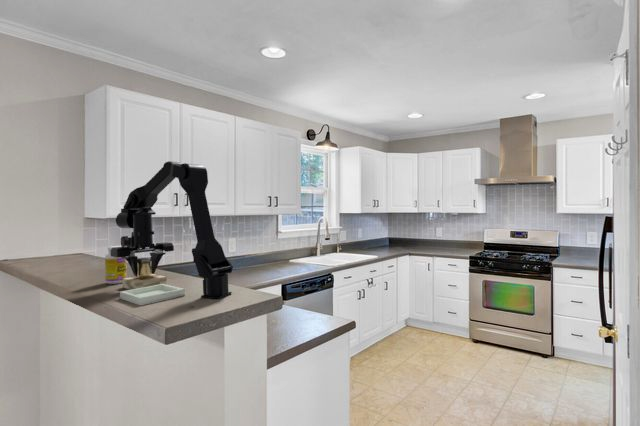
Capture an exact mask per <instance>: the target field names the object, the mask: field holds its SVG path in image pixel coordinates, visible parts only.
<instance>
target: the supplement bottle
mask: <svg viewBox="0 0 640 426" xmlns="http://www.w3.org/2000/svg"><path fill="white" fill-rule="evenodd" d="M113 247H122V246H121V245H112V246H108V247H107V251H108V253H107V254H106V255H105V257H104V262H105V263H104V264H105V265H104V267H105V283H106V284H108V285H109V284H110V285H116V284H123V278H128V271H127V270H128V269H127V260H126V259H125V258H121V257H112V256H111V249H112V248H113Z"/></svg>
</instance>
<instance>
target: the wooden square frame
mask: <svg viewBox="0 0 640 426" xmlns="http://www.w3.org/2000/svg"><path fill="white" fill-rule="evenodd" d="M159 284H166V285H168V281H167V276H164V275H160V274H155V273H154V274H152V273H151V278H149V279H143V280H138V275H137V277H135V276H129V277H127V278H123V283H122V288H124V289H127V290H132V289H137V288H143V287H148V286H154V285H159Z"/></svg>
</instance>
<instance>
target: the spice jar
mask: <svg viewBox="0 0 640 426" xmlns="http://www.w3.org/2000/svg"><path fill="white" fill-rule="evenodd" d="M151 261H152V258H151V256H149V257H148V256H147V257H145V256H143V257H138V274H137V276H138V280H143V279H149V278H151V274H152V272H151Z"/></svg>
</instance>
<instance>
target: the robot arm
mask: <svg viewBox="0 0 640 426" xmlns="http://www.w3.org/2000/svg"><path fill="white" fill-rule="evenodd" d="M176 178H177V179H178V181H179V186H180V187H181V189H183V190H184V192H185V193H186V195H187V197H188V201H189V206H190V211H191V216H192V222H193V226H194V230H195V235H196V240H197V241H196V242H197V243H196V245H195V247H194V248H192V249H191V254H192V257H193V259H192V261H193V263H194V265H195V266H196V270H197V274H198V277H199V278H203V279H202V292H203V293H202V294H201V295H200V298H206V299H215V300H216V299H218V300H219V299H222V298H224V297H227V296H229V295H232V291H229V274H232V271H233V267H234V266H233V264H232V263H231V262H230V260H228V258H227V257H226V255H225V252H224V249H223V247H222V245H221V243H220V242H219V241H218V240H217V239H216V238H215V233H214V230H213V225H212V220H211V219H212V217H211V214H210V210H209V204H208V200H207V196H206V190H207V188H208V184H209V178H208V171H207V168H206V166H204V165H202V164H193V163H187V162H185V163H181V162H177V161H172V160H171V161H166V162H164V163H163V166H162V167H161V168H160V169H159V170H158V171H157V172H156V173H155V174H154V176H153V177H151V179H149V181H148V182H146V184H144V185H142V186H139V187H137V188H134V189H133V190H132V191H130V193H129V194H128V196H127V199H126V201H125V202H124V205H123V208H121V209H120V212H119V213H118V214H117V215H116V218H115V223H116V226H118V228H120V229H132V230H133V231H132V232H131V236H130V237H129V236H128V235H123V236H121V237H120V246H122V247H113V248H112V249H111V256H112V257H121V258H125V259H126V262H127V263H128V265H129V267H130V270H131V271H132V274H133V277H137V276H138V258H139V257H138V256H137V255H136V254H138V253H139V254H140V253H147V252H149V255H150V256H149V257H151V258H152V261H151V274H155V273H156V271H157V269H158V265H159V264H160V261H161V260H162V259H163V258H162V257H163V256H164V255H166V253H167V252H174V251H175V248H174V247H175V246H174V244H173V243H172V242H166V241H165V242H156V243H153V238H154V237H153V235H155V231H154V230H153V220H152V218H153V216H152V215H156V214H157V213H156V212H155V211H154V210H153V209H152V207H153V206H154V205H155V204H156V203H157V201H158V196H159V194H161V192H162V191H163V190H165V189H166V187H167V186H169V185H170V184H171V183H172V182H173V181H174V180H175V179H176Z"/></svg>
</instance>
